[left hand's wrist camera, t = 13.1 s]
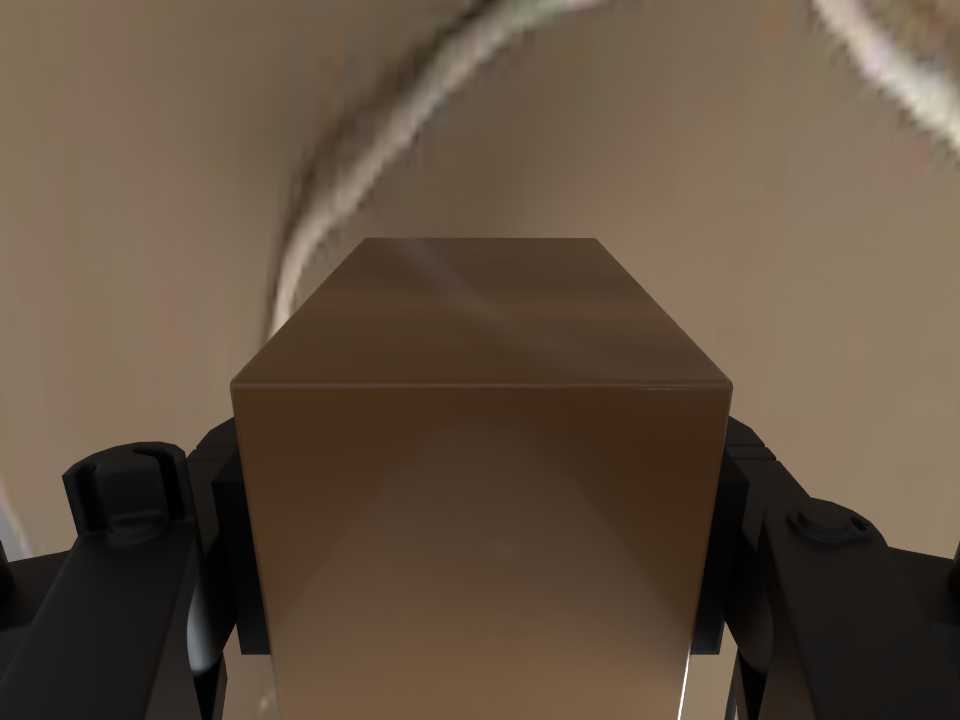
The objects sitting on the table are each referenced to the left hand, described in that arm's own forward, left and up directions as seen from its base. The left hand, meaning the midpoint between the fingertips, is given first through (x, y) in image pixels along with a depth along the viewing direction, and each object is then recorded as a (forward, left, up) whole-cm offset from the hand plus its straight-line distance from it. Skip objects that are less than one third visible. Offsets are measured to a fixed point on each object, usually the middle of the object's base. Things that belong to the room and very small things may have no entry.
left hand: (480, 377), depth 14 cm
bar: (+10, 0, -1) cm, 10 cm away
